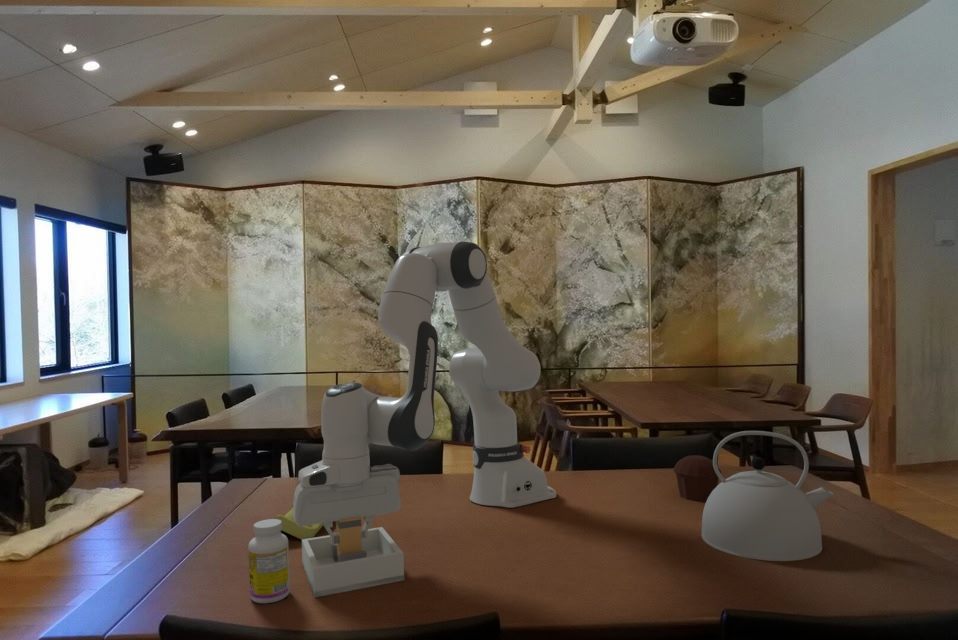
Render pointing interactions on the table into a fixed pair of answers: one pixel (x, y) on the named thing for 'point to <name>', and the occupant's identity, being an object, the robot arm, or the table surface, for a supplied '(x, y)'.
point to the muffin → (696, 477)
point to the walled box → (352, 564)
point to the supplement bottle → (269, 562)
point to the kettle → (763, 512)
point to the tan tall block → (349, 535)
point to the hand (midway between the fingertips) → (348, 541)
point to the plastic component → (296, 530)
